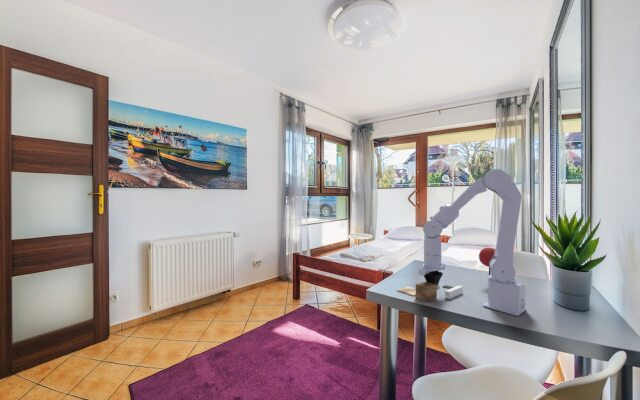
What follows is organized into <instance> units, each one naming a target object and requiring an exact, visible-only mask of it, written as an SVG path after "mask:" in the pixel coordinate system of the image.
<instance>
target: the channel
mask: <svg viewBox="0 0 640 400" xmlns="http://www.w3.org/2000/svg"><path fill="white" fill-rule="evenodd" d="M453 287H454V288H451V289H447V290H445V292H444V295H445V296H444V299H448V300H451V299H453V298H456V297H458V296H459V295H462V294H464V287H463V286H462V285H456V286H453ZM438 288H440V282H439V283H438V287H437V289H438Z"/></svg>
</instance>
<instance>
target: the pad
mask: <svg viewBox="0 0 640 400" xmlns="http://www.w3.org/2000/svg"><path fill="white" fill-rule="evenodd" d="M396 291H397V292H399V293H403V294H406V295H409V296H411V297H416V287H412V286H404V287H402V288H398V289H397V290H396Z"/></svg>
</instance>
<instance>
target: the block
mask: <svg viewBox="0 0 640 400" xmlns="http://www.w3.org/2000/svg"><path fill="white" fill-rule="evenodd" d="M415 289H416V295H415V299H418V300H421V301H424V302H427V303H430V302H433V301H435V300H437V296H438V295H437V293H438V291H437V290H438V288H437V285H436V284H432V283H429V282H426V280H425V281H424V280H423V281H420V282H417V283H415Z"/></svg>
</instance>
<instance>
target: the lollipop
mask: <svg viewBox="0 0 640 400" xmlns="http://www.w3.org/2000/svg"><path fill="white" fill-rule="evenodd" d="M495 249H496V248H493V247H484V248H482V249H480V252H479V253H478V259H479V262H480V263H481V264H482V265H483V266H486V267H488V276H489V275H491V270H490V267H489V263H490V260H491V259H492V258H493V256H494V252H495Z"/></svg>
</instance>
